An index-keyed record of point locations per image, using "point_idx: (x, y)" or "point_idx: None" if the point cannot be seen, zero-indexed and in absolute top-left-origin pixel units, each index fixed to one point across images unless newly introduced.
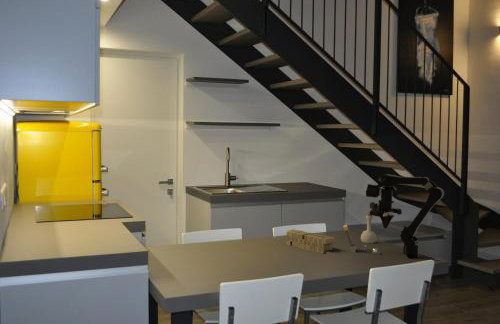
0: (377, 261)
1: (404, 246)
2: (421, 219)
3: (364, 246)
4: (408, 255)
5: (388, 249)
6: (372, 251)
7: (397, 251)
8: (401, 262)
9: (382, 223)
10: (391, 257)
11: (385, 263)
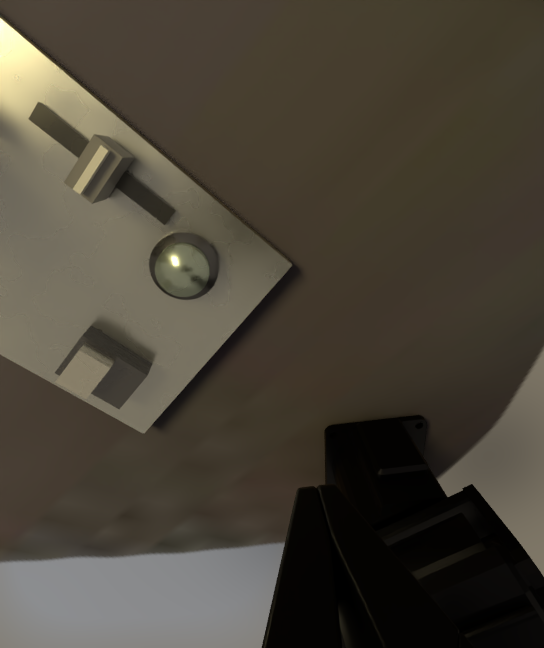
0: (19, 476)
1: (372, 490)
2: None
3: (65, 179)
4: (336, 484)
5: (446, 189)
6: (73, 347)
7: (444, 293)
8: (182, 535)
9: (271, 606)
10: (217, 426)
11: (49, 525)
